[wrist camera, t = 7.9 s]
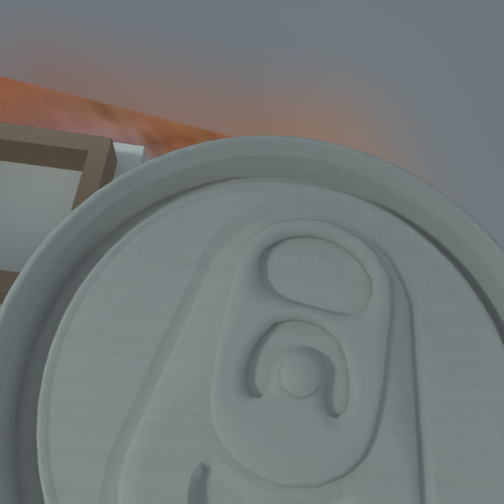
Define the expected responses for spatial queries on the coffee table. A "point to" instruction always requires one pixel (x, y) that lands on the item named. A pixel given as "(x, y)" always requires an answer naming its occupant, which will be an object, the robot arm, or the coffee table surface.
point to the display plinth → (49, 185)
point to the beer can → (257, 338)
